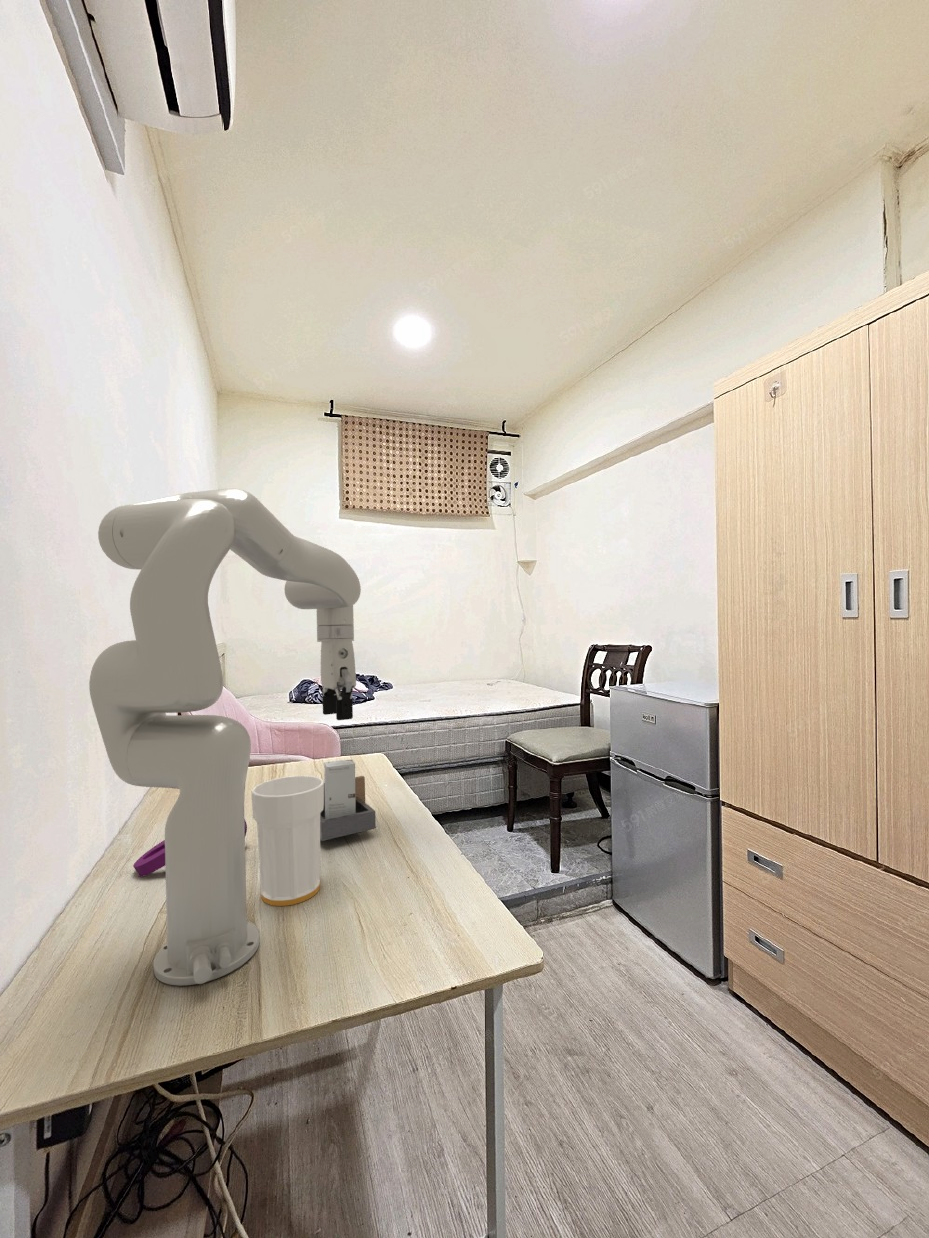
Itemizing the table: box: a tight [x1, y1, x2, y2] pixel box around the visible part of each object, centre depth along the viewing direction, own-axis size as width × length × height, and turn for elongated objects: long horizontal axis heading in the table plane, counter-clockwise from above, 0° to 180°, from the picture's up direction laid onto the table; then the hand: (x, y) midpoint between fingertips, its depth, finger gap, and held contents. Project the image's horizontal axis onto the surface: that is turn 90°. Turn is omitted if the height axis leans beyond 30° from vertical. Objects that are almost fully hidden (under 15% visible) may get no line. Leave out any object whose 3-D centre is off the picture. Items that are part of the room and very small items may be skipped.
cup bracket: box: [320, 775, 377, 842], centre depth 108 cm, size 14×16×9 cm
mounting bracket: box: [132, 818, 248, 878], centre depth 96 cm, size 10×8×18 cm
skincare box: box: [323, 759, 356, 820], centre depth 107 cm, size 6×4×12 cm
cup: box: [251, 775, 324, 907], centre depth 85 cm, size 11×11×17 cm
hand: (337, 716), depth 107 cm, fingers open, 9 cm apart
